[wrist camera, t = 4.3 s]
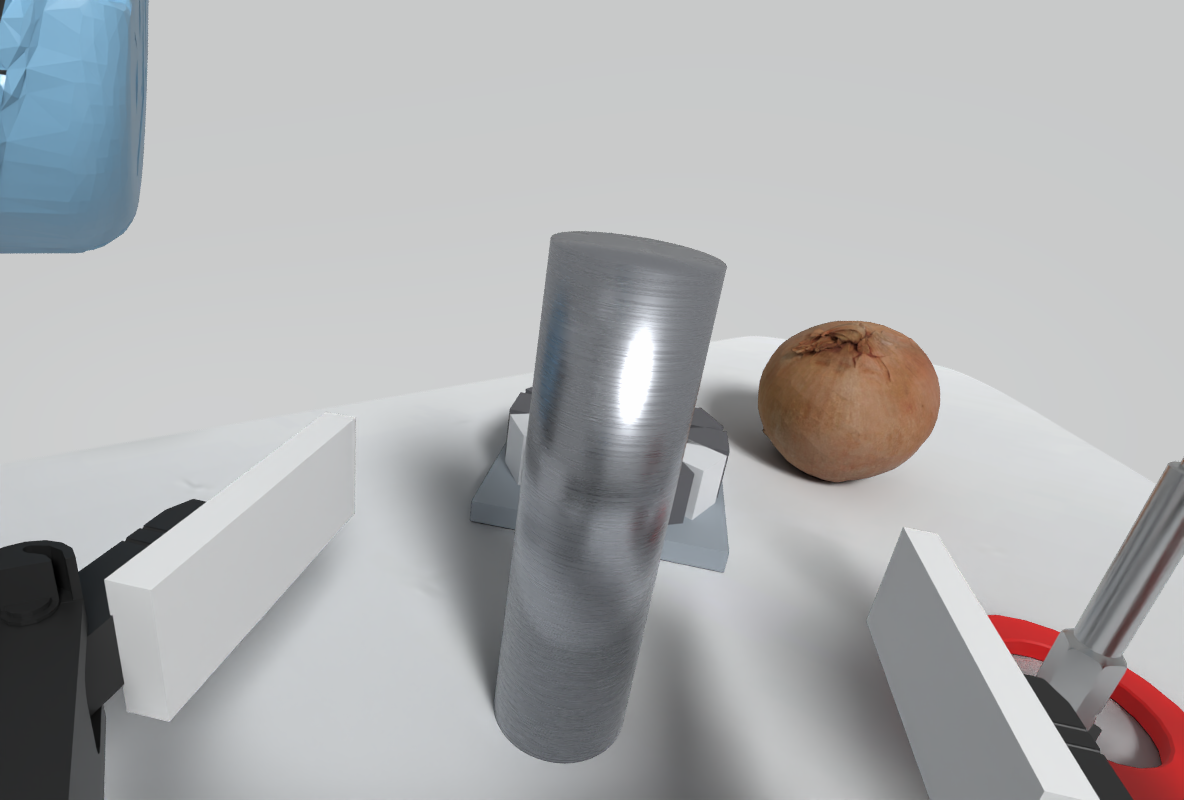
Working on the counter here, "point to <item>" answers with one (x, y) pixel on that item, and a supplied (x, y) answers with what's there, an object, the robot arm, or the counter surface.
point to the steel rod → (598, 481)
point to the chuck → (696, 501)
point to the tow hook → (1120, 641)
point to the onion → (848, 400)
